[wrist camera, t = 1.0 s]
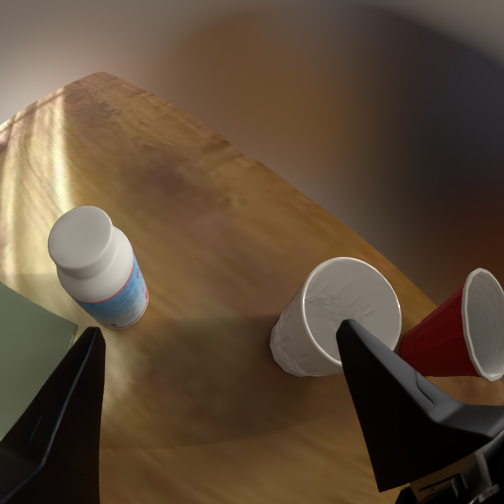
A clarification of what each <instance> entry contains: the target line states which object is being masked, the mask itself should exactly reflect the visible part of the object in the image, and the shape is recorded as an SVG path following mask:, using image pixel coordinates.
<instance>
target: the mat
mask: <svg viewBox="0 0 504 504" xmlns="http://www.w3.org/2000/svg"><path fill="white" fill-rule="evenodd" d="M77 328H78V326H77V325H76V324H74V323H72V322H70V321H68V320H66V319H64V318H62V317H60V316H58V315H56V314H54V313H52V312H50V311H48V310H46V309H45V308H43V307H41V306H39V305H37V304H36V303H34V302H32V301H30V300H29V299H27V298H25V297H23V296H22V295H20V294H18V293H17V292H15V291H14V290H12V289H10V288H9V287H7V286H6V285H4V284H3V283H1V282H0V441H1V440H2V439H3V437H4V436H5V435H6V434H7V432H8V431H9V430H10V429H11V428H12V426H13V425H14V424H15V423H16V422H17V420H18V419H19V418H20V416H21V415H22V414H23V413H24V411H25V410H26V409H27V407H28V406H29V404H30V403H31V402H32V400H33V399H34V397H35V396H37V393H38V392H39V390H40V389H41V387H42V386H43V385H44V383H45V382H46V380H47V379H48V378H49V376H50V375H51V373H52V372H53V371H54V369H55V368H56V367H57V365H58V364H59V363H60V361H61V360H62V359H63V358H64V356H65V355H66V354H67V352H68V351H69V350H70V347H71V344H72V342H73V339H74V336H75V333H76V331H77Z"/></svg>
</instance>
